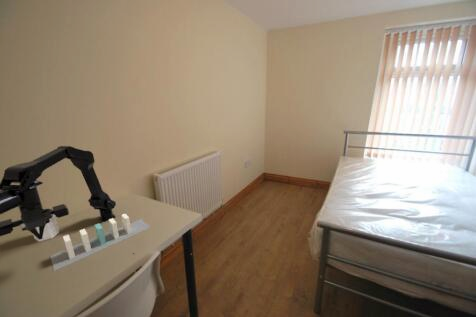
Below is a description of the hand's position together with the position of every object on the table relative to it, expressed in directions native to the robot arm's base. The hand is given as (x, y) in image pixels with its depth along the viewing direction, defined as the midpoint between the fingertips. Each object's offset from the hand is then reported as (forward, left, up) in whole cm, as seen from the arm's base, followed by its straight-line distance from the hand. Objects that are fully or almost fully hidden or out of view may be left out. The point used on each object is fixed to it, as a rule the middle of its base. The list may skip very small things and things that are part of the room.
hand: (40, 238), depth 77 cm
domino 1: (0, +7, -12) cm, 14 cm away
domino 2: (0, +13, -12) cm, 17 cm away
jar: (-24, +2, -12) cm, 27 cm away
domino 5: (0, +29, -12) cm, 31 cm away
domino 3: (0, +18, -12) cm, 21 cm away
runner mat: (0, +20, -12) cm, 23 cm away
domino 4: (0, +24, -12) cm, 26 cm away
